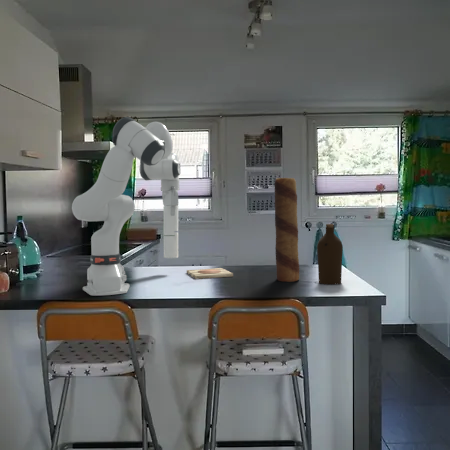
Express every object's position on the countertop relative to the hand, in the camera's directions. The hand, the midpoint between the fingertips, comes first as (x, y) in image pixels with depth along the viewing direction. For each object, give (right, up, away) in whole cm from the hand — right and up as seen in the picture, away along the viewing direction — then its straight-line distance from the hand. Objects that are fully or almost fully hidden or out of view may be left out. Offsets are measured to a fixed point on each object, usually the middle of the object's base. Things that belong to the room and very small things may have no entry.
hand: (170, 215), depth 228 cm
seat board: (+19, -29, -3) cm, 34 cm away
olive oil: (+71, -29, -28) cm, 82 cm away
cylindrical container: (0, -21, +1) cm, 21 cm away
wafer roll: (+54, -29, -20) cm, 64 cm away
